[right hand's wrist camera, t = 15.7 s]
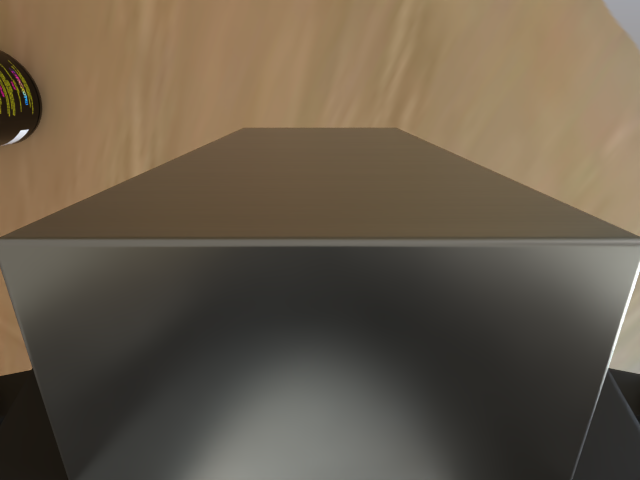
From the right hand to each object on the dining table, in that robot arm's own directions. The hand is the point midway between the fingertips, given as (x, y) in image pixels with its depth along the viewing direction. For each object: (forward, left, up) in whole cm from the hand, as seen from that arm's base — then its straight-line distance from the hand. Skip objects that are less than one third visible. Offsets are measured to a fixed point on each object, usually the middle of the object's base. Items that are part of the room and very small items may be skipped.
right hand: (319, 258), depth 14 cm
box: (-5, +6, -3) cm, 8 cm away
